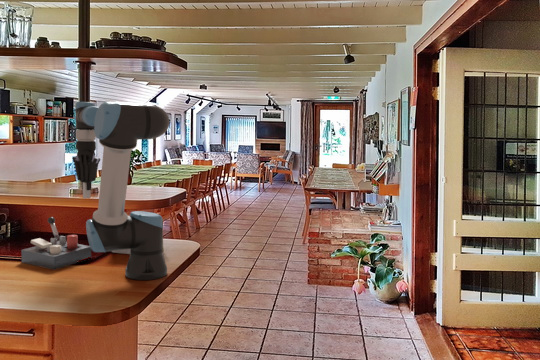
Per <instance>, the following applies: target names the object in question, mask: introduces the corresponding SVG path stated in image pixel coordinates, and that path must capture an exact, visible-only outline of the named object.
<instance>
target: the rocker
mask: <svg viewBox="0 0 540 360" xmlns="http://www.w3.org/2000/svg"><path fill="white" fill-rule="evenodd" d="M30 244H31V245H34V246H38V247H41V248H47V247H50V246H52V243H51V241H50V242H49V241H47V240H45V239H43V238H41V237H39V238H34V239H31V240H30Z"/></svg>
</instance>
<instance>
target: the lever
mask: <svg viewBox="0 0 540 360" xmlns="http://www.w3.org/2000/svg"><path fill="white" fill-rule="evenodd" d="M55 222H56V218H55V217H54V216H50V217H48V218H47V223H48V224H50V227H51V230H52V234H53V236H54V237H53V238H56V239H57V240H60V235H59V232H58V229H57V226H56V223H55Z"/></svg>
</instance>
